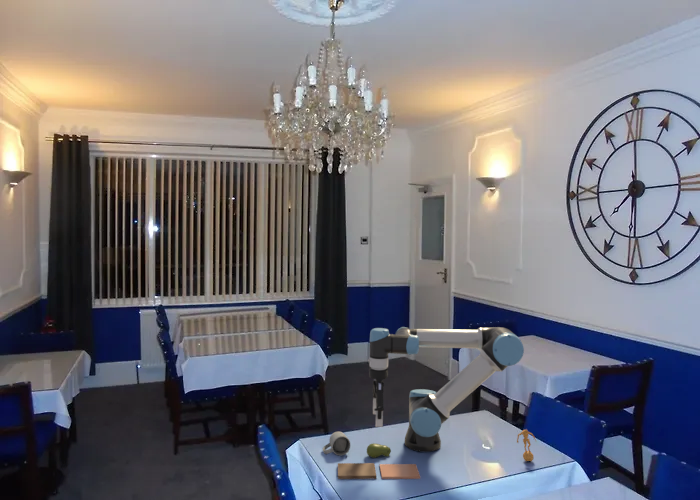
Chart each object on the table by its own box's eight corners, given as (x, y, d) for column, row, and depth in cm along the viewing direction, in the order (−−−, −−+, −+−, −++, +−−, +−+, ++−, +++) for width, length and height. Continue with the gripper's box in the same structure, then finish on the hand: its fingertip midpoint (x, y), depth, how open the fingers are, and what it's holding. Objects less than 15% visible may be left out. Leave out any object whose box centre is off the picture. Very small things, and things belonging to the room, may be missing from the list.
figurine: (520, 464, 202) (521, 434, 202) (513, 457, 208) (514, 428, 208) (540, 462, 204) (541, 432, 203) (532, 456, 210) (533, 426, 209)
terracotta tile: (415, 466, 200) (415, 464, 199) (420, 478, 190) (420, 476, 190) (379, 466, 199) (379, 464, 199) (381, 478, 189) (381, 476, 189)
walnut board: (374, 466, 199) (374, 463, 199) (376, 478, 189) (376, 475, 189) (337, 466, 199) (337, 463, 199) (337, 478, 189) (338, 475, 189)
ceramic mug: (345, 446, 217) (345, 428, 217) (350, 454, 209) (350, 435, 209) (320, 449, 214) (320, 431, 214) (324, 457, 206) (324, 438, 206)
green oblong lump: (365, 441, 209) (387, 441, 213) (363, 454, 209) (385, 454, 212) (371, 446, 204) (393, 447, 207) (369, 460, 204) (391, 460, 207)
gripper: (367, 359, 219) (366, 409, 220) (371, 376, 194) (370, 432, 195) (384, 359, 219) (383, 409, 220) (391, 376, 194) (390, 432, 195)
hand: (377, 420), depth 208 cm, fingers open, 13 cm apart
